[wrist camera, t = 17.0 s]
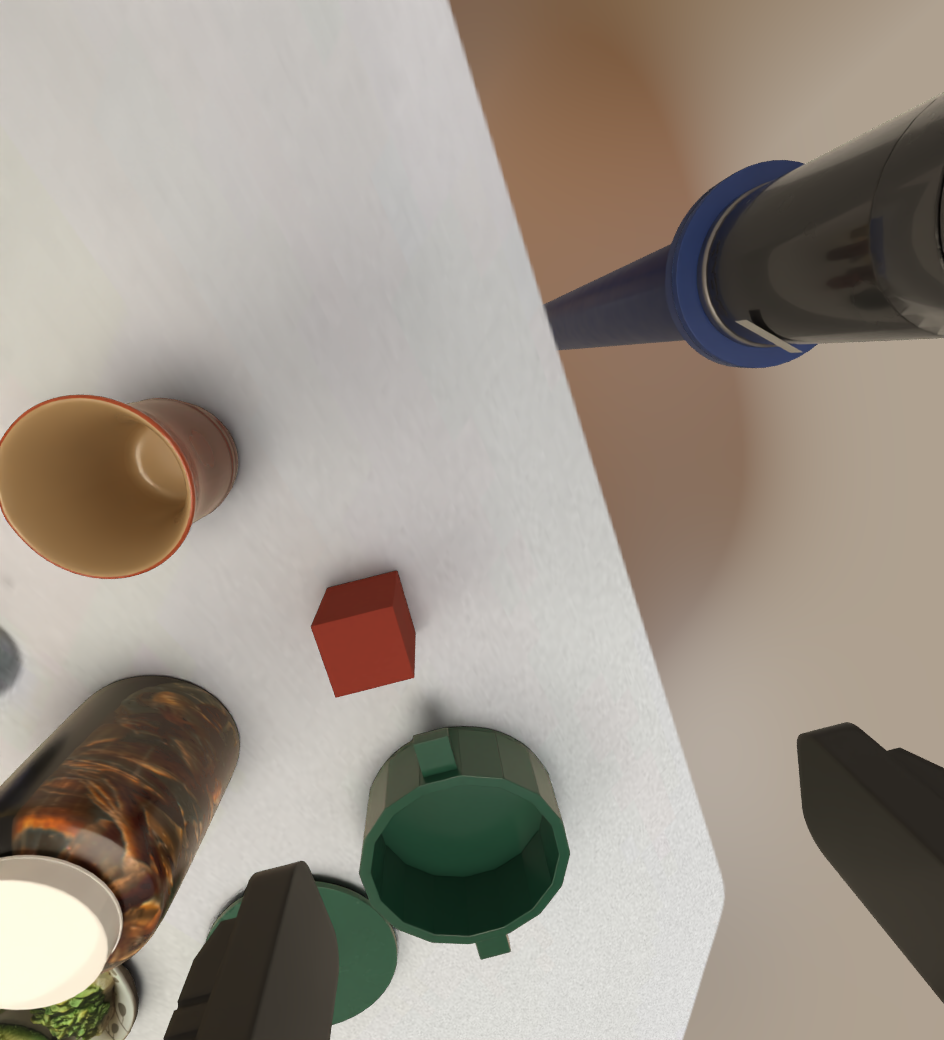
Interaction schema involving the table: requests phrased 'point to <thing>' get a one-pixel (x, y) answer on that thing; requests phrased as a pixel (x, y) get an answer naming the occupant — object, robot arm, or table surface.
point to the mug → (112, 480)
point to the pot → (463, 838)
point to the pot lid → (352, 948)
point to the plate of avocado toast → (80, 1013)
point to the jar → (105, 832)
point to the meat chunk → (365, 634)
